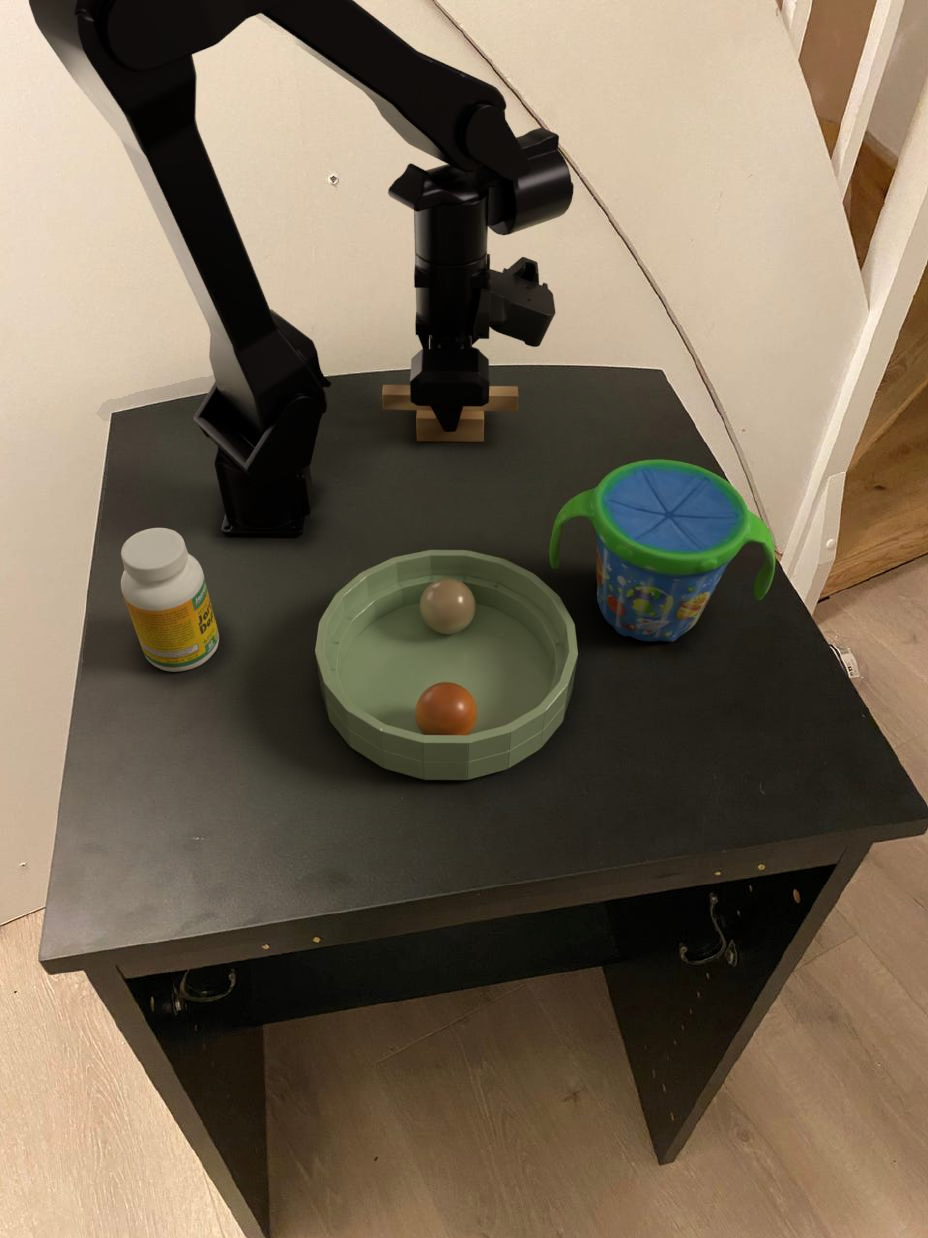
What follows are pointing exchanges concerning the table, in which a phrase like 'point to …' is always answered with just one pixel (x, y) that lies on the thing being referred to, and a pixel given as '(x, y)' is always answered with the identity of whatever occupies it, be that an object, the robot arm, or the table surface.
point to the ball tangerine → (446, 710)
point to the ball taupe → (447, 606)
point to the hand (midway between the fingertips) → (450, 416)
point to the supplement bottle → (168, 600)
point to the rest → (466, 432)
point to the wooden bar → (498, 401)
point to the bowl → (446, 664)
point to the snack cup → (663, 544)
